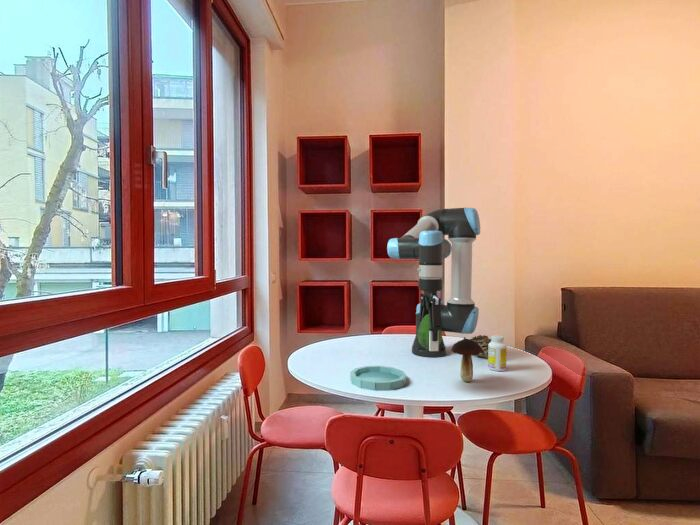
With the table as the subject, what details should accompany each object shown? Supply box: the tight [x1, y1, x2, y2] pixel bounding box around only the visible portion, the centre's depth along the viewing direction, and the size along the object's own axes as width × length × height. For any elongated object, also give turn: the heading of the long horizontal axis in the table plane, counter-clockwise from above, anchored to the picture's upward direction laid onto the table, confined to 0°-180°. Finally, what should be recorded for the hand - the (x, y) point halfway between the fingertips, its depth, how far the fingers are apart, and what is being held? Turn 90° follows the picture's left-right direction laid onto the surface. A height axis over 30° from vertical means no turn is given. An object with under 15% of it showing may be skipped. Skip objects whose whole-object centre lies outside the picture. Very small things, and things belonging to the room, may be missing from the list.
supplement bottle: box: [487, 335, 507, 372], centre depth 150 cm, size 7×7×13 cm
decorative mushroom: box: [450, 338, 483, 383], centre depth 135 cm, size 11×11×15 cm
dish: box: [349, 365, 407, 391], centre depth 135 cm, size 19×19×2 cm
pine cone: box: [463, 334, 492, 358], centre depth 171 cm, size 22×10×10 cm, turn 19°
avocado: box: [418, 314, 443, 350], centre depth 126 cm, size 8×8×12 cm
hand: (429, 347), depth 127 cm, fingers closed on avocado, 8 cm apart
